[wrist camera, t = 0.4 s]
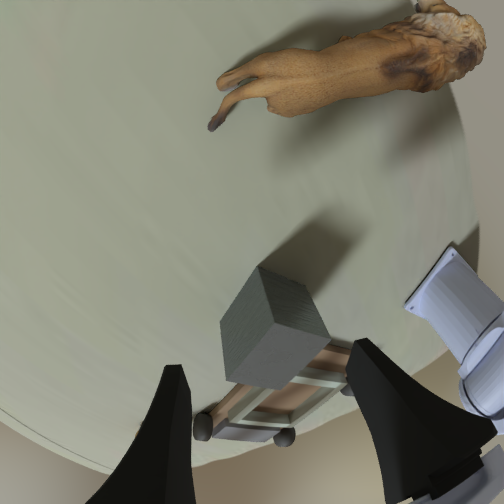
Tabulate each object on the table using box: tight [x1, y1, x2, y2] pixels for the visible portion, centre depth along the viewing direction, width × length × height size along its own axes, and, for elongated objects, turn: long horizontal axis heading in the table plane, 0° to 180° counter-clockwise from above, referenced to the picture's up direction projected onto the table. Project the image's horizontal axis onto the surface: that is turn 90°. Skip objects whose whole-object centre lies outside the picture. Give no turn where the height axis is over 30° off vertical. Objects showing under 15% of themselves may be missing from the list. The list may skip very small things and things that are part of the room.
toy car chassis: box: [193, 344, 354, 447], centre depth 29 cm, size 13×20×4 cm
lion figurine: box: [208, 0, 486, 132], centre depth 10 cm, size 15×5×9 cm, turn 122°
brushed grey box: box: [220, 266, 332, 390], centre depth 20 cm, size 4×6×6 cm
